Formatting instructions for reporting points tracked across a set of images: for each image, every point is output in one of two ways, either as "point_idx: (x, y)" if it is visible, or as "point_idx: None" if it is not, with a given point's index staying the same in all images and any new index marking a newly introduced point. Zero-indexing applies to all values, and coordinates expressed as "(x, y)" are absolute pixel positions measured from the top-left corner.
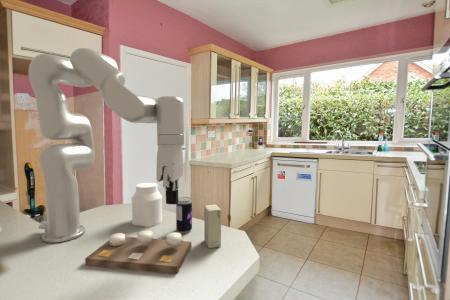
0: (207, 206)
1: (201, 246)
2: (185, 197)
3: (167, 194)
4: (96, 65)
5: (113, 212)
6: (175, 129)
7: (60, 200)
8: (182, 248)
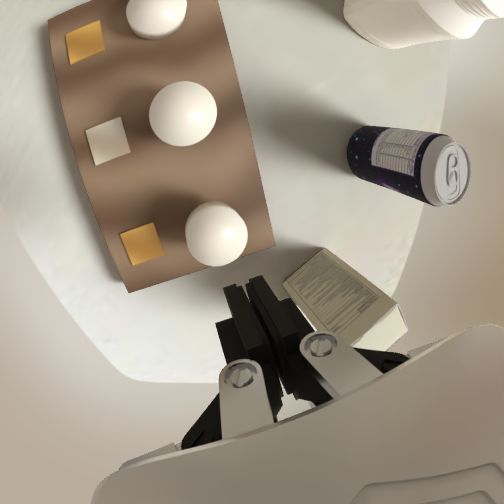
0: (384, 323)
1: (286, 259)
2: (468, 167)
3: (241, 339)
4: None
5: None
6: None
7: None
8: None
